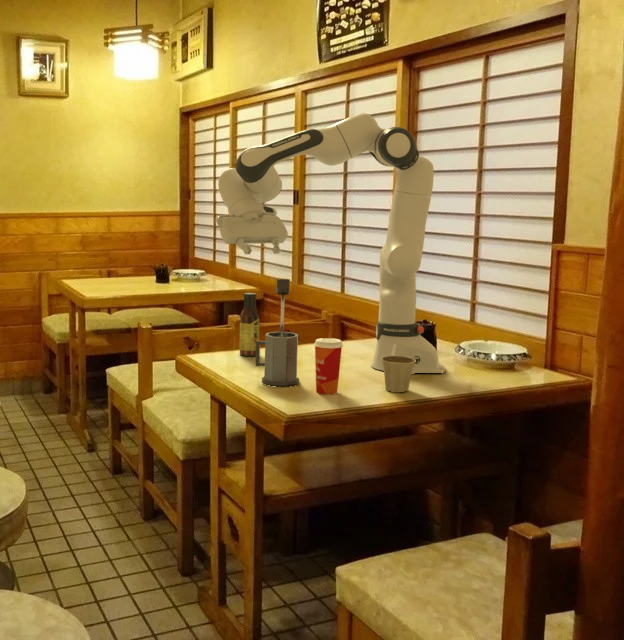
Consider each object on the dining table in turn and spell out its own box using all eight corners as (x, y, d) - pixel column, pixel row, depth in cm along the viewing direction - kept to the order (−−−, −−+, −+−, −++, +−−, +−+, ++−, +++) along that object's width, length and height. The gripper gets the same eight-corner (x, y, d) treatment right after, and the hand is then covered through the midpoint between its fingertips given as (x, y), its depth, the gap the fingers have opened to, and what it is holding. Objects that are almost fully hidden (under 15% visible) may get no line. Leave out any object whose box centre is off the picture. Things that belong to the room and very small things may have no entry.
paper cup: (310, 388, 214) (312, 337, 211) (338, 388, 214) (340, 337, 212) (314, 395, 206) (315, 343, 204) (343, 395, 207) (345, 343, 204)
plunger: (293, 341, 220) (295, 278, 217) (291, 345, 214) (293, 280, 211) (271, 340, 220) (273, 277, 217) (269, 344, 214) (271, 280, 211)
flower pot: (420, 394, 211) (421, 362, 210) (387, 395, 209) (388, 363, 207) (406, 385, 220) (407, 355, 219) (374, 386, 218) (375, 356, 216)
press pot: (300, 378, 223) (301, 332, 221) (298, 388, 213) (299, 339, 211) (257, 377, 224) (258, 330, 222) (253, 386, 214) (254, 337, 211)
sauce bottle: (257, 357, 250) (259, 295, 247) (238, 356, 250) (239, 294, 247) (259, 353, 257) (260, 292, 253) (240, 352, 257) (241, 291, 254)
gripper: (218, 208, 220) (234, 245, 214) (280, 208, 231) (297, 244, 225) (210, 223, 224) (226, 260, 218) (271, 223, 236) (288, 259, 230)
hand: (263, 252), depth 222 cm, fingers open, 8 cm apart
